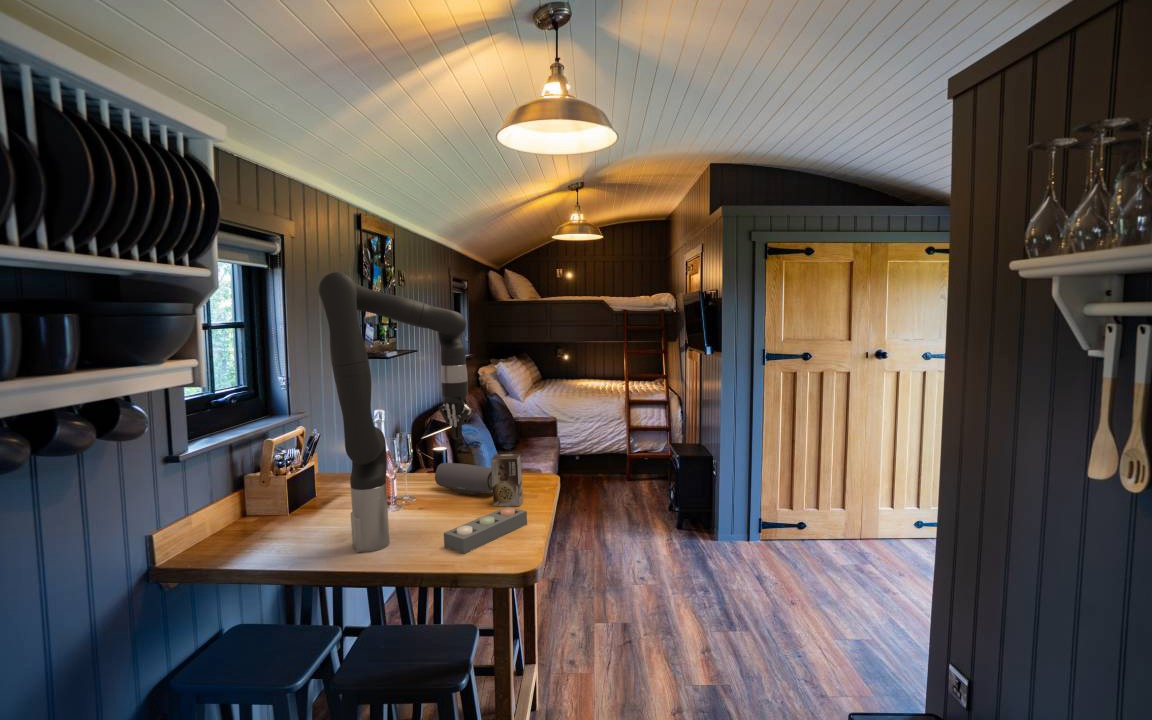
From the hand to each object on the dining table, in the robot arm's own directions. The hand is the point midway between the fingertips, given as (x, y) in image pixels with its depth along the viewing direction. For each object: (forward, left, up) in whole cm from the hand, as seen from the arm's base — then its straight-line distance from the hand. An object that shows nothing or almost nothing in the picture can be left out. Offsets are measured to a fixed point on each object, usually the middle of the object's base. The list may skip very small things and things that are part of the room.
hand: (457, 438), depth 166 cm
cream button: (-4, -13, -25) cm, 29 cm away
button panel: (+4, -10, -27) cm, 29 cm away
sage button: (+4, -10, -25) cm, 28 cm away
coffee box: (+21, +11, -27) cm, 36 cm away
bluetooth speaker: (+15, +31, -27) cm, 44 cm away
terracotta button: (+12, -7, -25) cm, 29 cm away
